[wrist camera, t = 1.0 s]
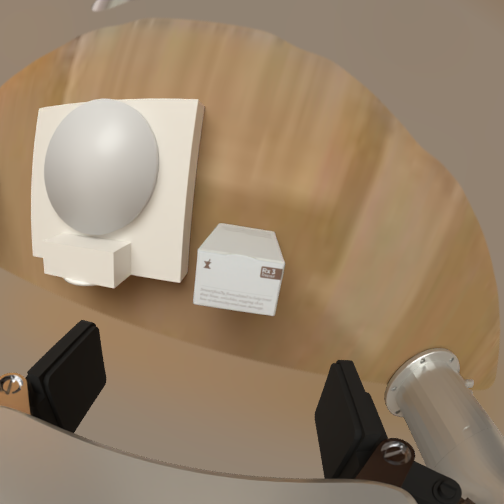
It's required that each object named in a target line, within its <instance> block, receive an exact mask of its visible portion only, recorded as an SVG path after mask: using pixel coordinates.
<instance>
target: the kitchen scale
mask: <svg viewBox="0 0 504 504" xmlns="http://www.w3.org/2000/svg"><path fill="white" fill-rule="evenodd" d="M204 108H205V106H204V105H203V104H202V103H201V102H200V101H199V100H198V99H124V100H113V99H97V100H92V101H89V102H83V103H74V104H65V105H58V106H51V107H44V108H39V113H38V120H37V127H36V134H35V143H34V154H33V166H32V187H31V227H32V247H33V256H36V257H41V258H43V260H44V272H45V273H46V274H50V275H54V276H59V277H63V278H64V280H65V281H67V282H68V283H71V284H74V285H79V286H95V285H100V286H105V287H110V288H115V287H117V286H118V285H119V284H120V283H121V282H123V281H124V280H125V279H126V278H127V277H129V276H130V275H135V276H141V277H147V278H153V279H159V280H165V281H172V282H178V283H180V282H181V281H182V280H183V278H184V277H185V275H186V274H187V273H188V258H189V244H190V232H191V220H192V209H193V198H194V188H195V179H196V170H197V161H198V153H199V145H200V137H201V130H202V122H203V115H204Z"/></svg>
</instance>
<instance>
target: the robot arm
mask: <svg viewBox="0 0 504 504" xmlns="http://www.w3.org/2000/svg"><path fill="white" fill-rule="evenodd" d="M459 371H460V365H459V361H458V359H457V357H456V356H455V355H454V354H453V353H452V352H451V351H449V350H448V349H444V348H434V349H429V350H426V351H424V352H421V353H419V354H418V355H416V356H414V357H412V358H411V359H410V360H408V361H407V362H406V363H404V364H403V365H402V366H401V367H400V368H399V369H398V370H397V371H396V373H395V374H394V375H393V377H392V378H391V379H390V381H389V383H388V385H387V387H386V391H385V398H384V399H385V404H386V406H387V408H388V410H389V411H390V412H391V413H392V414H393V415H395V416H399V417H404V419H405V421H406V423H407V425H408V427H409V429H410V431H411V434H412V435H413V438H414V440H415V442H416V444H417V446H418V449H419V451H420V453H421V455H422V458H423V460H424V462H425V464H426V466H423V465H421V464H419V463H417V462H415V461H414V459H415V451H414V449H413V447H412V446H411V445H410V444H409V443H407V442H406V441H404V440H401V439H398V438H389V439H388V437H387V435H386V432H385V430H384V427H383V425H382V422H381V420H380V417H379V415H378V412H377V410H376V408H375V405H374V403H373V400H372V398H371V396H370V394H369V393H367V392H365V390H364V387H363V385H362V383H361V380H360V378H359V375H358V373H357V371H356V368H355V366H354V363H353V362H352V361H350V360H337V362H336V363H333V364H332V365H331V367H330V371H329V374H328V377H327V380H326V383H325V386H324V389H323V392H322V394H321V397H320V400H319V403H318V406H317V408H316V411H315V423H316V429H317V434H318V441H319V447H320V452H321V459H322V465H323V471H324V477H325V479H299V478H274V477H258V476H247V475H238V474H229V473H222V472H215V471H208V470H202V469H196V468H191V467H186V466H181V465H176V464H171V463H167V462H163V461H158V460H154V459H150V458H147V457H143V456H139V455H135V454H132V453H129V452H125V451H122V450H119V449H115V448H113V447H109V446H107V445H103V444H101V443H98V442H95V441H92V440H89V439H87V438H84V437H82V436H79V435H76V434H74V432H75V430H76V428H77V427H78V426H79V424H80V422H81V421H82V419H83V418H84V416H85V415H86V413H87V411H88V410H89V408H90V407H91V405H92V404H93V402H94V401H95V399H96V398H97V396H98V395H99V393H100V392H101V390H102V389H103V387H104V386H105V383H106V374H105V368H104V362H103V356H102V349H101V341H100V334H99V329H98V328H97V327H96V325H95V324H94V323H92V322H88V321H85V320H81V321H80V322H79V323H78V324H76V326H74V327H73V328H72V329H71V330H70V331H69V332H68V333H67V334H66V335H65V336H64V337H63V338H62V339H61V340H59V341H58V342H57V343H56V344H55V345H54V346H53V347H52V348H51V349H50V350H49V351H48V352H47V353H46V354H45V355H44V356H43V357H42V358H41V359H40V360H39V361H38V362H37V363H36V364H35V365H34V366H33V367H32V368H31V369H30V370H29V371H28V372H27V373H28V375H27V377H26V378H25V377H24V376H22V375H21V374H18V373H6V374H4V375H2V376H0V504H504V437H503V435H502V434H501V432H500V431H499V430H498V428H497V427H496V426H495V424H494V423H493V421H492V420H491V419H490V417H489V416H488V414H487V413H486V412H485V410H484V409H483V408H482V406H481V405H480V404H479V402H478V401H477V400H476V398H475V397H474V396H473V392H472V390H469V389H468V388H471V387H472V386H473V385H474V381H473V379H467V380H464V379H463V378H462V377H461V375H460V374H459Z"/></svg>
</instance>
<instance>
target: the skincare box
mask: <svg viewBox="0 0 504 504" xmlns="http://www.w3.org/2000/svg"><path fill="white" fill-rule="evenodd" d="M284 268H285V262H284V259H283V256H282V253H281V250H280V247H279V244H278V241H277V238H276V235H275V232H273V231H266V230H260V229H254V228H248V227H242V226H236V225H230V224H224V223H219V224H218V226H217V227H216V228H215V229H214V230H213V232H212V233H211V234H210V235H209V236H208V238H207V239H206V240H205V241H204V243H203V244H202V245H201V246H200V248H199V249H198V254H197V266H196V277H195V288H194V297H193V303H194V304H196V305H202V306H208V307H215V308H221V309H228V310H234V311H241V312H249V313H255V314H263V315H270V316H274V315H275V312H276V308H277V302H278V297H279V292H280V287H281V282H282V278H283V273H284Z"/></svg>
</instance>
